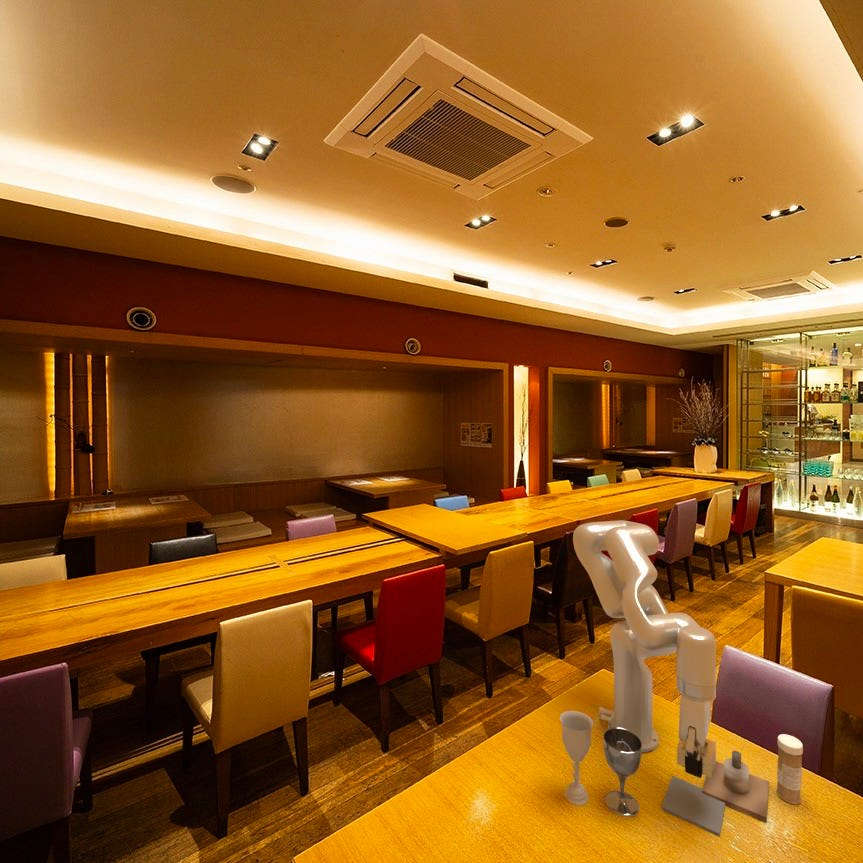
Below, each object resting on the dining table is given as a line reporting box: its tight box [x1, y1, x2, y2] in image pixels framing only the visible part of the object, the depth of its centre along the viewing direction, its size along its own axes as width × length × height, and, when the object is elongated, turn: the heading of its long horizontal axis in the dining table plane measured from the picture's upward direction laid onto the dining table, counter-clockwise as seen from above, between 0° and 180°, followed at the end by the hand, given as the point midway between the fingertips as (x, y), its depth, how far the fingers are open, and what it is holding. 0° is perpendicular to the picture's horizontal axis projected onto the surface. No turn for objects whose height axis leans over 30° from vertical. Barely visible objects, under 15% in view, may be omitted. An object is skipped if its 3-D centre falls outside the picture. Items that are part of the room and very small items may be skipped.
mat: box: [661, 775, 726, 837], centre depth 106 cm, size 11×11×1 cm
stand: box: [702, 750, 770, 824], centre depth 109 cm, size 12×12×9 cm
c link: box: [676, 738, 717, 778], centre depth 105 cm, size 7×7×4 cm
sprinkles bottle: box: [776, 733, 804, 805], centre depth 107 cm, size 5×5×14 cm
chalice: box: [559, 710, 594, 806], centre depth 108 cm, size 7×7×18 cm
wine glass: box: [602, 728, 643, 818], centre depth 106 cm, size 8×8×15 cm
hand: (696, 763), depth 105 cm, fingers closed on c link, 6 cm apart
